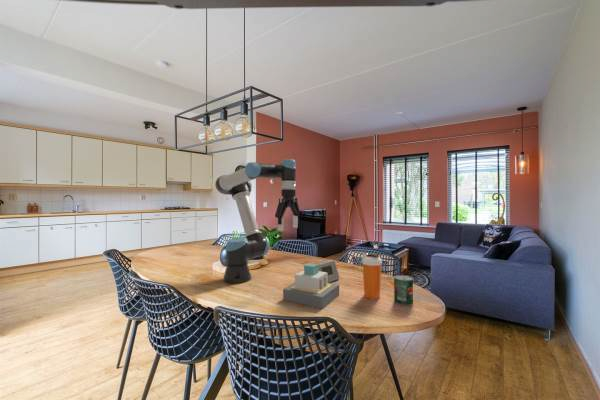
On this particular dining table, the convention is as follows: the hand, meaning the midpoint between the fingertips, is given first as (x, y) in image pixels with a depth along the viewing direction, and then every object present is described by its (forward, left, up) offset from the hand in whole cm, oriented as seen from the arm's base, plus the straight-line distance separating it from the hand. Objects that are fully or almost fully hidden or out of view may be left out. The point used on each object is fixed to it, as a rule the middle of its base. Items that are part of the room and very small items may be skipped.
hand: (288, 229), depth 144 cm
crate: (+19, -9, -19) cm, 28 cm away
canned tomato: (+57, +6, -30) cm, 65 cm away
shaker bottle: (+43, +6, -30) cm, 53 cm away
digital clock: (+15, +15, -30) cm, 37 cm away
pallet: (+19, -9, -25) cm, 32 cm away
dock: (+19, -9, -30) cm, 36 cm away
